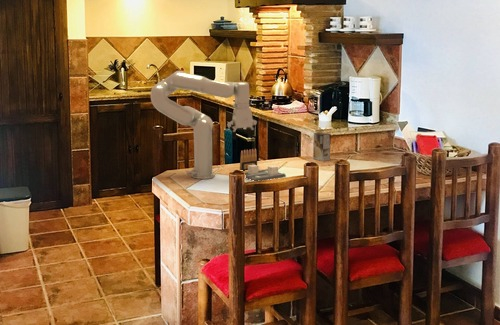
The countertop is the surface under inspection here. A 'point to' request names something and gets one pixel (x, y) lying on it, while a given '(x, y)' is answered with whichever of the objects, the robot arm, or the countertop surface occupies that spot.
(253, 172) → the tab
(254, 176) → the switch bank
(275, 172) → the tab
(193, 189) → the countertop surface
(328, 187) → the countertop surface
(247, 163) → the ammunition clip
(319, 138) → the coffee box
